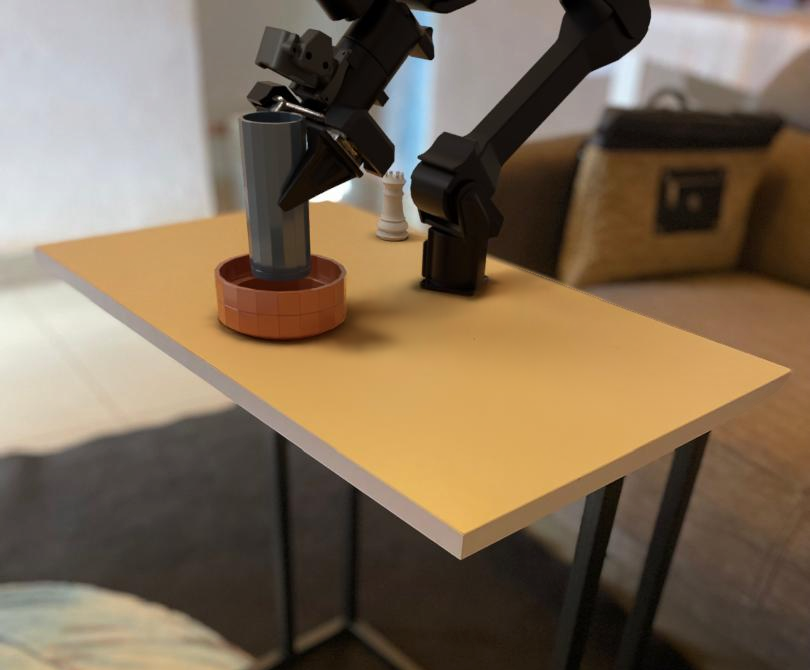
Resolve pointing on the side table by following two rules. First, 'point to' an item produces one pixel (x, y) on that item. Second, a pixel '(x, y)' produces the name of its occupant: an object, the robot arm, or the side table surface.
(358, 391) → the side table surface
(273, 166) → the vase
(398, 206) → the rook chess piece
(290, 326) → the bowl
